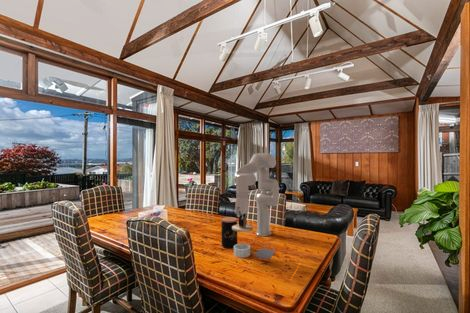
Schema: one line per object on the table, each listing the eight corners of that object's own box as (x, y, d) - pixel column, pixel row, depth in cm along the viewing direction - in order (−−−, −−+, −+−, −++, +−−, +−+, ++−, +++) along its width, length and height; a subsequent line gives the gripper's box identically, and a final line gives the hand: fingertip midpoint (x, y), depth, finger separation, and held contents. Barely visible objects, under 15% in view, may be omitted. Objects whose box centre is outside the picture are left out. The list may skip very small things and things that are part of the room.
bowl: (238, 250, 145) (238, 242, 145) (252, 253, 140) (252, 245, 140) (230, 256, 136) (230, 247, 136) (245, 259, 132) (245, 251, 132)
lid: (238, 224, 147) (238, 213, 147) (256, 227, 141) (256, 216, 141) (228, 230, 136) (228, 218, 136) (247, 233, 130) (247, 221, 130)
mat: (261, 248, 147) (261, 247, 147) (276, 251, 142) (276, 250, 142) (252, 257, 135) (252, 256, 135) (268, 260, 130) (268, 259, 130)
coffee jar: (223, 249, 146) (223, 221, 147) (220, 243, 157) (219, 217, 157) (239, 247, 149) (239, 220, 149) (235, 242, 159) (234, 216, 160)
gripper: (242, 192, 148) (242, 221, 147) (230, 196, 133) (230, 227, 133) (253, 193, 144) (253, 222, 144) (241, 197, 130) (242, 229, 129)
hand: (242, 224), depth 138 cm, fingers closed on lid, 3 cm apart
